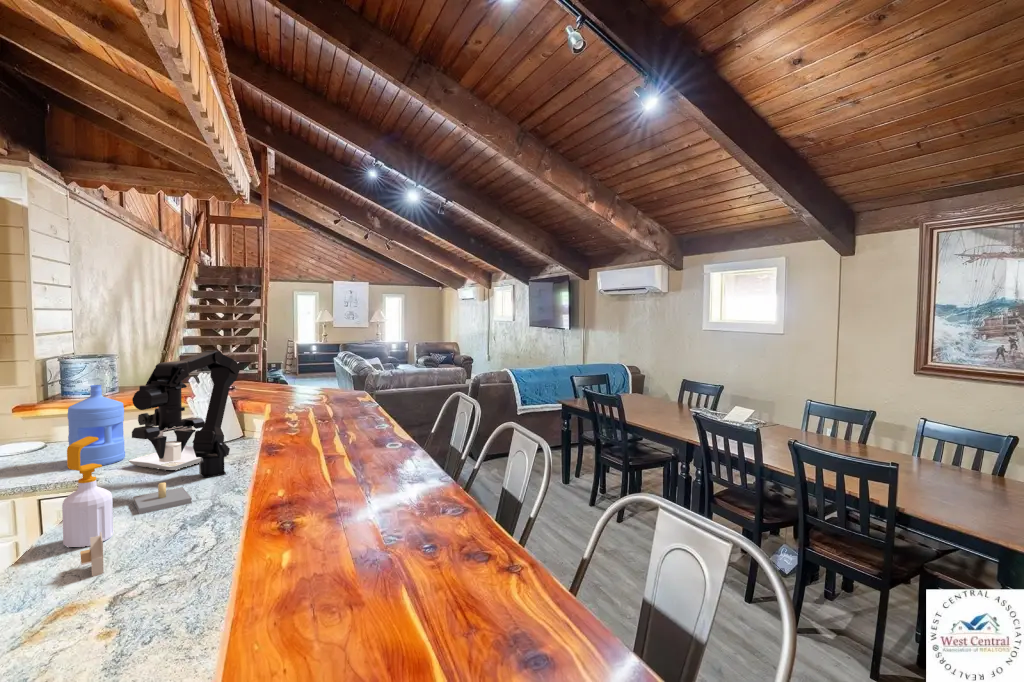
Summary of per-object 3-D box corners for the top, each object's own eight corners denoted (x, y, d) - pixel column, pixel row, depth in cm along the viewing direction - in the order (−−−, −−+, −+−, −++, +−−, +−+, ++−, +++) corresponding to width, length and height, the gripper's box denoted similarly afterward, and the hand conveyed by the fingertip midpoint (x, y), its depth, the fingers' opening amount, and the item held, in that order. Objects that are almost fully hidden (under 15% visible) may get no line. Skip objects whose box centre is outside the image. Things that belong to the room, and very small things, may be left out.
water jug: (58, 465, 174) (56, 386, 173) (109, 453, 189) (107, 381, 187) (85, 470, 168) (83, 389, 167) (134, 458, 183) (133, 384, 182)
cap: (172, 456, 151) (172, 440, 151) (185, 458, 149) (185, 441, 149) (154, 460, 146) (154, 444, 146) (168, 462, 144) (168, 445, 144)
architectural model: (81, 581, 100) (81, 545, 99) (80, 568, 105) (79, 534, 105) (103, 575, 102) (103, 540, 102) (101, 563, 107) (100, 530, 107)
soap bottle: (122, 535, 120) (120, 435, 119) (79, 551, 111) (76, 444, 110) (97, 529, 123) (95, 432, 122) (53, 545, 114) (50, 440, 113)
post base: (182, 491, 150) (182, 474, 149) (191, 502, 141) (191, 484, 141) (133, 501, 141) (132, 482, 141) (139, 514, 133) (139, 494, 132)
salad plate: (170, 475, 165) (170, 465, 165) (126, 468, 172) (126, 459, 172) (225, 459, 186) (225, 450, 185) (183, 453, 192) (183, 444, 192)
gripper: (179, 398, 158) (179, 446, 159) (117, 407, 141) (118, 461, 141) (205, 400, 155) (206, 449, 156) (145, 410, 137) (146, 465, 138)
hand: (170, 456), depth 148 cm, fingers closed on cap, 5 cm apart
